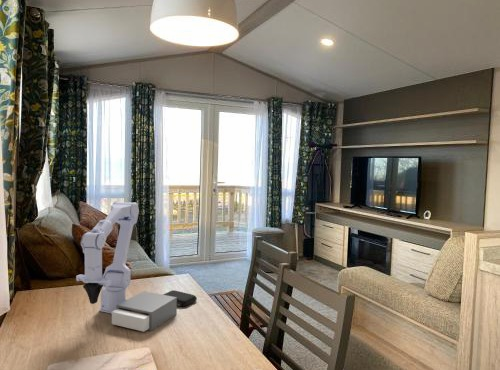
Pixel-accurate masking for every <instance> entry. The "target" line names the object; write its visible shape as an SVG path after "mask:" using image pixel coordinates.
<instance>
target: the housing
mask: <svg viewBox="0 0 500 370" xmlns="http://www.w3.org/2000/svg"><path fill="white" fill-rule="evenodd" d="M177 308H178V306H177V297H172V296H167V295H163V294H160V293H155V292H151V291H145V290H144V291H141V292H139V293H137V294H135V295H133V296H131V297H129V298H126V300H125V301H123V302H121V303H119V304H117V305H116V309H121V310H125V311H130V312H131V310H133V311H138V312H143V313H147V314H149V329H147V330H146V331H154V330H155V329H157V328H158V327H159V326H161V325H163V324H164V323H165V322H167V321H168V320H170V319H172V318H173V317H174V316H176V315H177V313H178V311H177V310H178V309H177Z"/></svg>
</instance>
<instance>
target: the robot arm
mask: <svg viewBox="0 0 500 370" xmlns="http://www.w3.org/2000/svg"><path fill="white" fill-rule="evenodd" d="M139 214H140V209H139V205H138V203H137V202H125V201H124V202H123V201H114V202H112V204H111V205H110V212H108V214H107V216H106V217H105V219H100V220H99V221H98V222H97V224H96V225H95V226H94V227H93V228H92V229H91V230H90V231H89V232H88V231H87V232H85V233H84V234H83V235H82V236H81V241H80V246H81V248H82V253H83V254H84V274H78V275H76V276H75V277H76V278H75V280H76V282H80V281H81V282H83V283H84V284H83V285H82V287H83V289H84V291H85V292H86V294H87V297H88V299H89V303H90V304H92V305H95V304H96V303H98V299H99V296H100V308H99V310H98V311H99V312H102V313H108V314H111V315H112V311H114V310H116V305H117V304H119V303H121V302H123V301H125V300H127V288H128V287H129V286H130V283H131V273H132V270H131V269H130V268H129V267H128V266H127V265H126V264H127V260H128V259H127V258H128V254H129V248H130V244H131V243H130V242H131V240H132V233H133V229H134V225H136V224H137V222H138V218H139ZM116 223H117V224H119V227H120V228H119V232H118V236H117V241H116V245H115V249H114V256H113V258H112V259H113V260H112V262H111V264H109V265H108V266H106V267H105V270H104V273H103V248H104V247H105V245H106V241H107V238H108V237H109V235H110V233H111V232H112V231H113V230H114V228H113V226H114V224H116Z"/></svg>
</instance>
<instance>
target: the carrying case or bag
mask: <svg viewBox="0 0 500 370" xmlns="http://www.w3.org/2000/svg"><path fill="white" fill-rule="evenodd" d="M162 295H167V296H172V297H177V307H180V308H181V307H182V308H183V307H184V308H186V307H187V306H190V305H192V304H193V302H194V303H195V302H196V301H197V300H198V298H197V296H196V295H194V294H191V293H186V292H184V291H178V290H175V289H174V290H170V291H168V292H165V293H164V294H162Z"/></svg>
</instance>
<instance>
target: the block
mask: <svg viewBox="0 0 500 370" xmlns="http://www.w3.org/2000/svg"><path fill="white" fill-rule="evenodd" d="M131 312H135V313H139V314H144V315H148V316H149V314H147V313H143V312H138V311H133V310H131Z"/></svg>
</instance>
